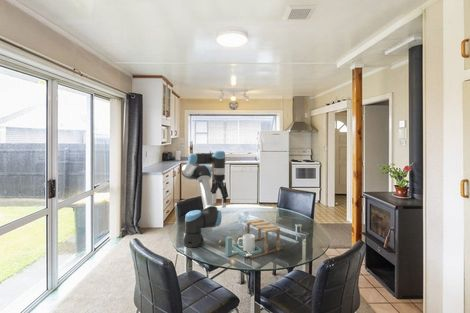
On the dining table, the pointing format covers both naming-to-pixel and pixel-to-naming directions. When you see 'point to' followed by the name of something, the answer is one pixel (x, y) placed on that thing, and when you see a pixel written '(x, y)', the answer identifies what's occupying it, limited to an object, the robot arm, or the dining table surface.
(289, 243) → the dining table surface
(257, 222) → the wooden slat rack
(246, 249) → the cup
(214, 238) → the dining table surface
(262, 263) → the dining table surface
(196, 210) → the robot arm
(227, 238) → the sled
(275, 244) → the pit
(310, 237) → the dining table surface
